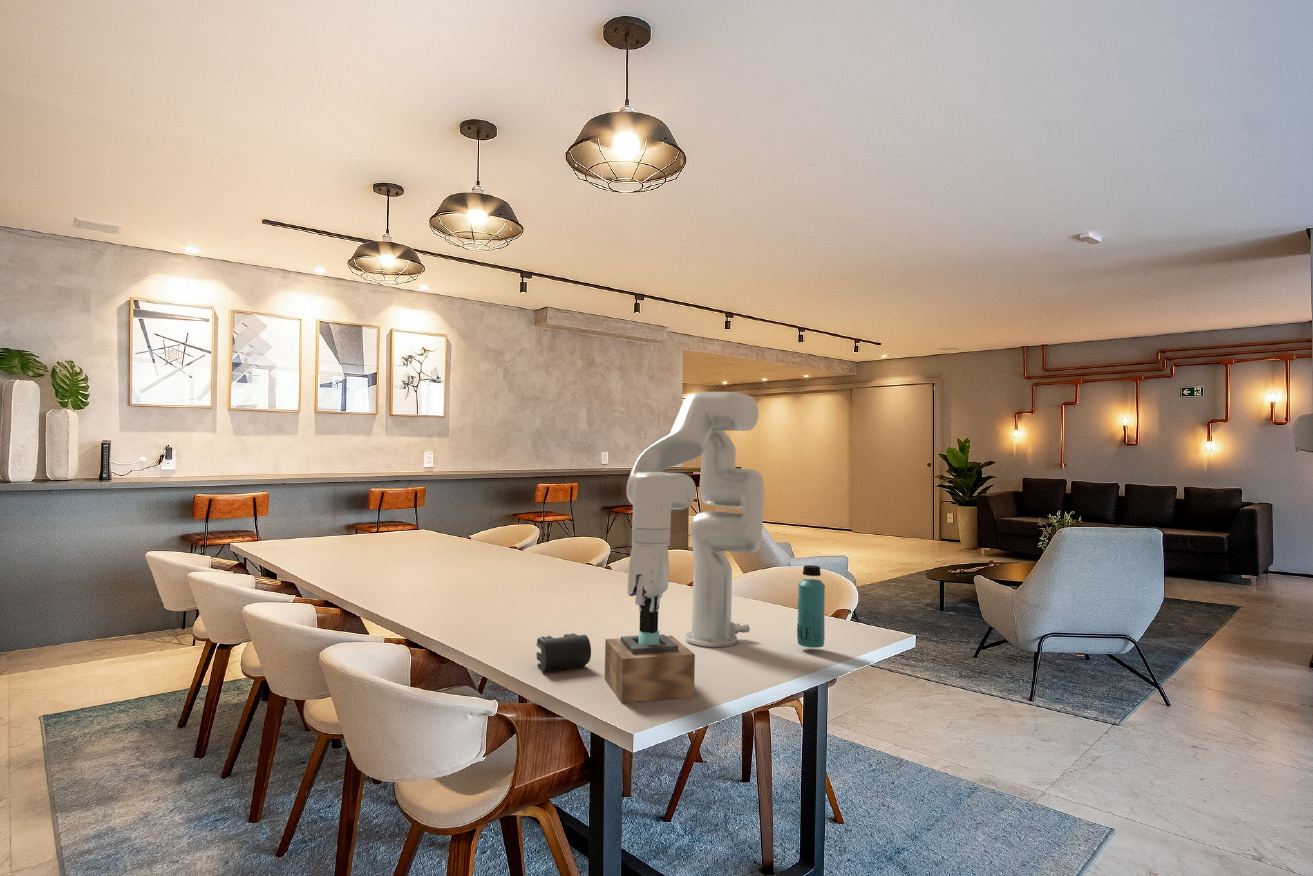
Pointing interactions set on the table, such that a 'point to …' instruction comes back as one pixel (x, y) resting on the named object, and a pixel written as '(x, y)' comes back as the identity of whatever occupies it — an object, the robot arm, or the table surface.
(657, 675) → the socket block
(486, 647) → the table surface
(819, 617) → the beverage bottle
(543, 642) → the end cap
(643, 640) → the peg
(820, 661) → the table surface
